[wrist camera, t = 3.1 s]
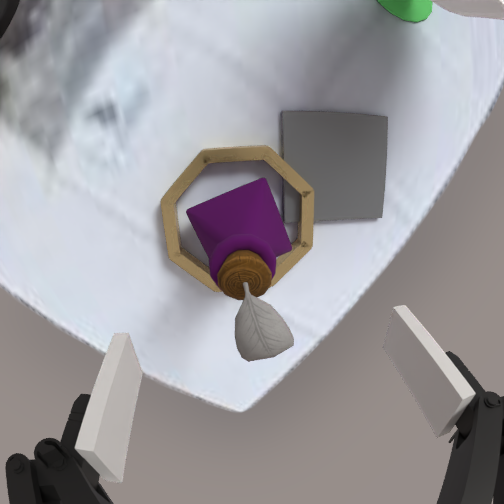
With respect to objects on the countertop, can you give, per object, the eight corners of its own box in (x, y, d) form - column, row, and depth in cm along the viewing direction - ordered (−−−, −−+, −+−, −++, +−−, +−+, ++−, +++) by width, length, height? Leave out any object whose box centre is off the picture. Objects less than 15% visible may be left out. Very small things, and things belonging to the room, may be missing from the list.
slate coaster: (283, 221, 31) (284, 223, 30) (281, 111, 26) (282, 110, 26) (379, 215, 32) (382, 217, 31) (384, 116, 27) (387, 116, 27)
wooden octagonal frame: (176, 287, 33) (175, 294, 31) (158, 153, 27) (155, 155, 25) (306, 276, 34) (310, 283, 33) (310, 144, 28) (314, 145, 26)
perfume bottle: (188, 200, 29) (153, 309, 13) (260, 170, 29) (317, 245, 12) (219, 264, 32) (224, 405, 16) (286, 237, 32) (350, 360, 15)
